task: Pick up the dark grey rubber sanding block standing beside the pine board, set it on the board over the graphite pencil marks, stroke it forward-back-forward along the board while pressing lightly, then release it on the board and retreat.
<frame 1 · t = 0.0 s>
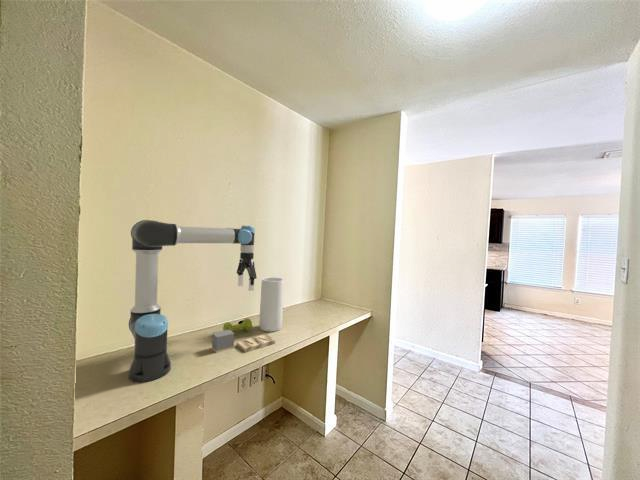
hand: (245, 288, 154), 28 cm above the table, fingers open, 13 cm apart
board: (256, 344, 144), on the table
sanding block: (222, 348, 138), on the table
vase: (270, 328, 169), on the table
dumbbell: (237, 333, 159), on the table
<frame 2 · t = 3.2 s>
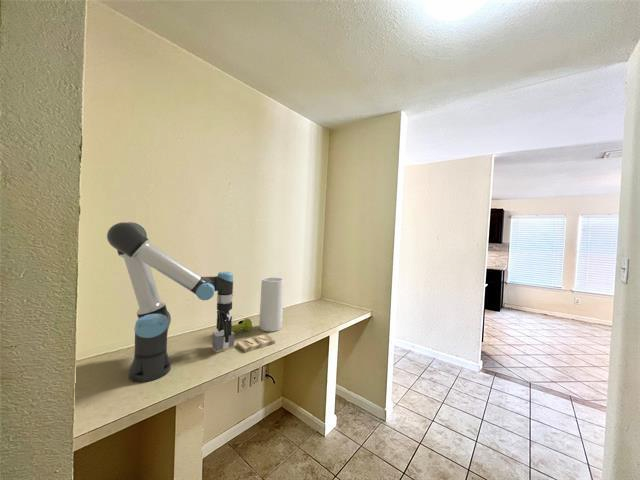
hand: (223, 345, 138), 1 cm above the table, fingers closed on sanding block, 6 cm apart
sanding block: (223, 348, 138), on the table, touching gripper
everything else where it was.
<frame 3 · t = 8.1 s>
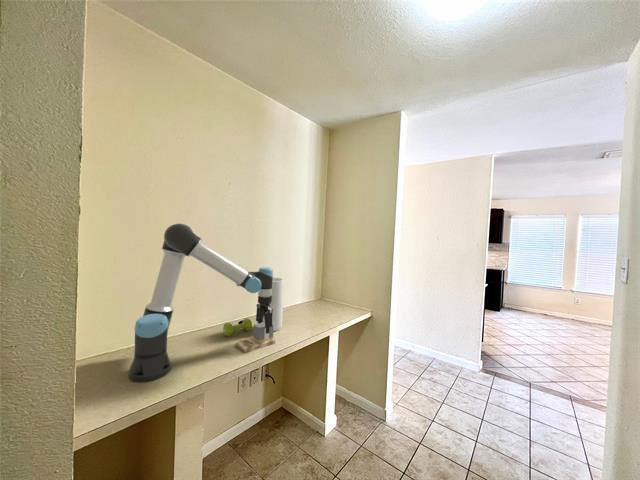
hand: (263, 336, 147), 3 cm above the table, fingers closed on sanding block, 6 cm apart
sanding block: (263, 339, 147), point 2 cm above the table, touching board, gripper
everything else where it was.
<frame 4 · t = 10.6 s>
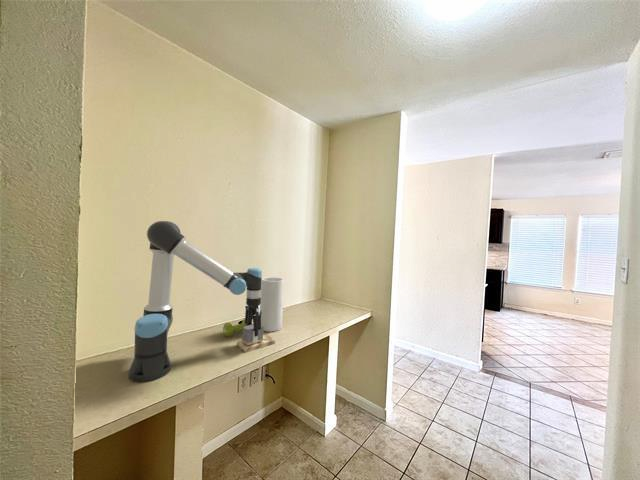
hand: (252, 339, 142), 3 cm above the table, fingers closed on sanding block, 6 cm apart
sanding block: (252, 341, 142), point 2 cm above the table, touching gripper
everything else where it was.
when the fingers open (4 cm above the table, at t = 12.8 s): sanding block stays where it is, resting on board.
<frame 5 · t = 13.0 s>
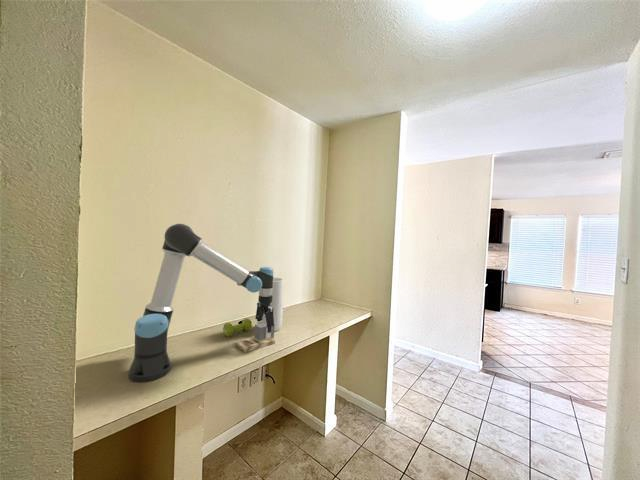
hand: (263, 335, 147), 4 cm above the table, fingers open, 8 cm apart
sanding block: (264, 338, 147), point 2 cm above the table, touching board
everything else where it was.
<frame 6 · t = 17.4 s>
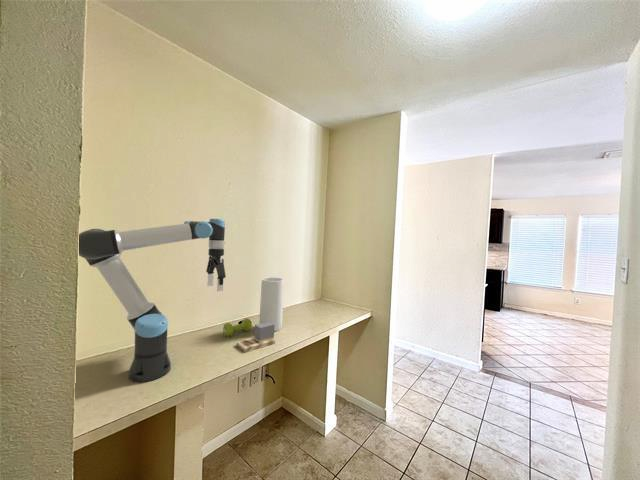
hand: (214, 288, 139), 31 cm above the table, fingers open, 13 cm apart
nothing on the table moved.
at the end: sanding block inside the target area (4.8 cm from its centre), point 2.0 cm above the table; sanding block tilted 0°; the gripper is holding nothing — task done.
